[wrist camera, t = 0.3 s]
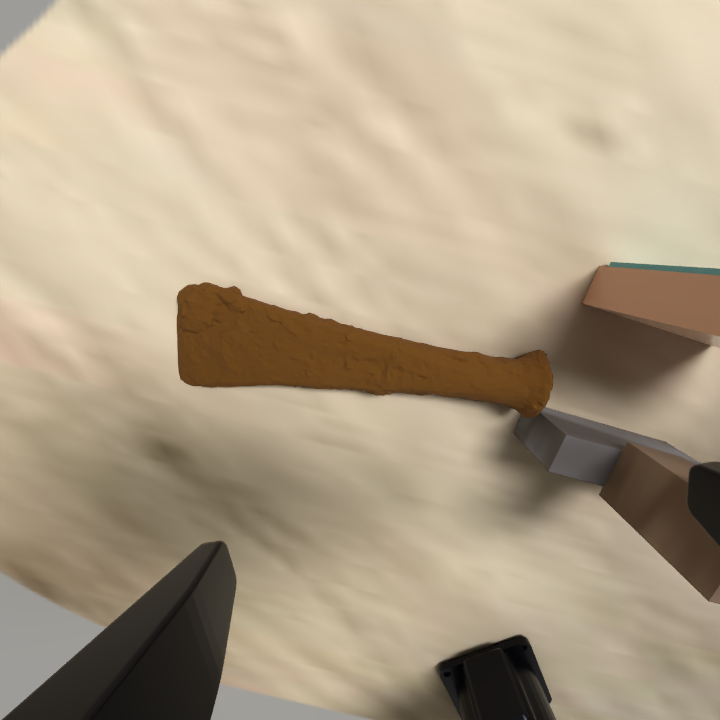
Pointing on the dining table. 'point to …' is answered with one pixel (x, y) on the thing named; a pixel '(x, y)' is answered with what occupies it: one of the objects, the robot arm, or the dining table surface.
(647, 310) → the tan block
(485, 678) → the robot arm
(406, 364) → the primitive tool
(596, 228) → the dining table surface
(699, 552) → the two-tone stacked blocks
